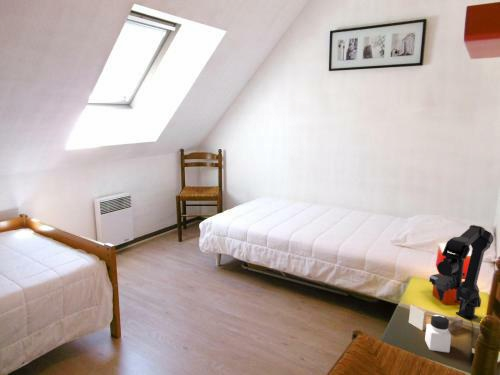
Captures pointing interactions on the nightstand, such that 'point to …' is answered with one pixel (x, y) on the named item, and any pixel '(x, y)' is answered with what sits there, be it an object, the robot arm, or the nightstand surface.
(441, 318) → the medicine bottle
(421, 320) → the tile
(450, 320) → the turner
